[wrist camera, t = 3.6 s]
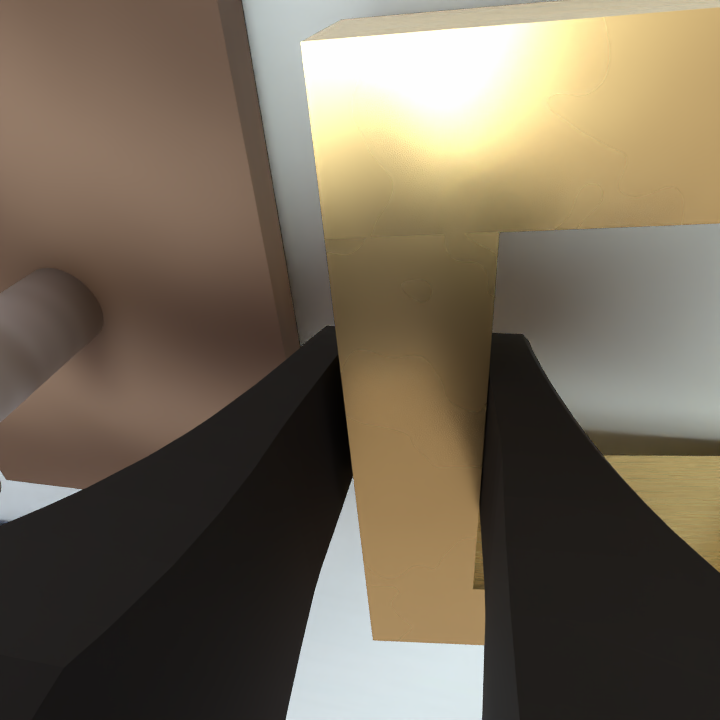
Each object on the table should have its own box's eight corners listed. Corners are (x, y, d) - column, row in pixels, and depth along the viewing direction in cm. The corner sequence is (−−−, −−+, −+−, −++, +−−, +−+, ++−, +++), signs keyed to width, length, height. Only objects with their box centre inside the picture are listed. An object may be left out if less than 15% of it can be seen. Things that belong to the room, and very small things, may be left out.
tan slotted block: (835, 515, 13) (952, 666, 10) (381, 508, 14) (373, 639, 11) (1207, -56, 7) (1783, -80, 4) (341, 19, 8) (300, 41, 5)
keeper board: (325, 491, 17) (262, 680, 12) (26, 458, 19) (-117, 606, 15) (225, -90, 9) (-55, -149, 4) (-265, -24, 11) (-774, -21, 7)
